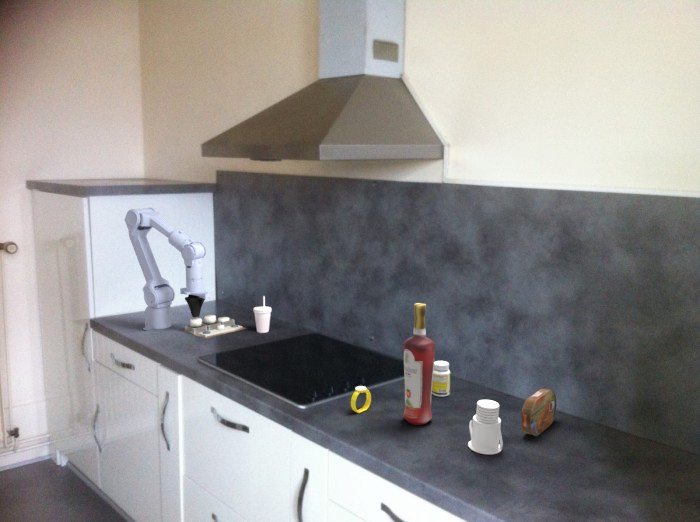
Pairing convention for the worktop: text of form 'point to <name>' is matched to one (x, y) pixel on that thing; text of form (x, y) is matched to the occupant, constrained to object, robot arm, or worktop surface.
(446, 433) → the worktop surface
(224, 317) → the button far
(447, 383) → the supplement bottle
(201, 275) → the robot arm
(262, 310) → the smoothie
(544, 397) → the tin
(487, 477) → the worktop surface
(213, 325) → the console
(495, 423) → the downlight
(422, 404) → the liquor
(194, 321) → the button near
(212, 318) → the button mid
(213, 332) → the strip
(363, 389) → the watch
